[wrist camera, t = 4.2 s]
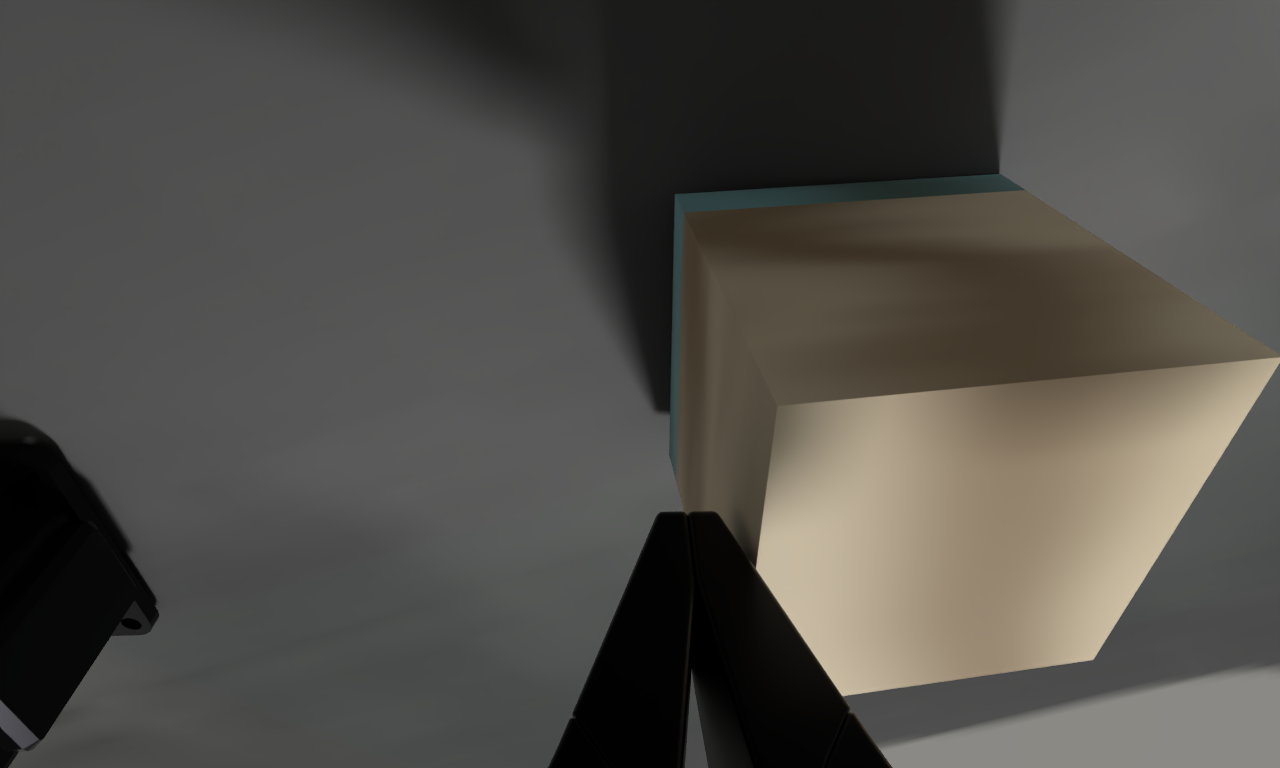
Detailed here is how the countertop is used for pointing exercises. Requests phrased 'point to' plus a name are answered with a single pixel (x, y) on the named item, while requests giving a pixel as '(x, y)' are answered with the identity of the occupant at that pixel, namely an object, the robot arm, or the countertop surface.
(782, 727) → the robot arm
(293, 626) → the countertop surface
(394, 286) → the countertop surface
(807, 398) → the maple cube
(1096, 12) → the countertop surface
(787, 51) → the countertop surface
